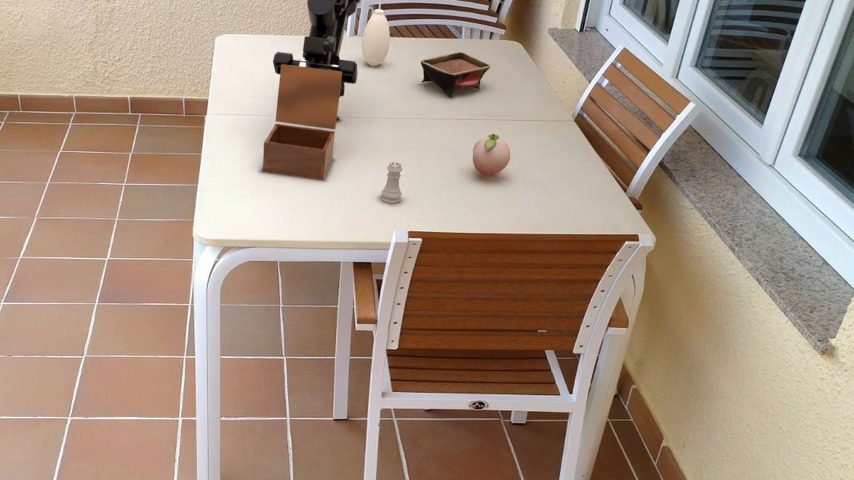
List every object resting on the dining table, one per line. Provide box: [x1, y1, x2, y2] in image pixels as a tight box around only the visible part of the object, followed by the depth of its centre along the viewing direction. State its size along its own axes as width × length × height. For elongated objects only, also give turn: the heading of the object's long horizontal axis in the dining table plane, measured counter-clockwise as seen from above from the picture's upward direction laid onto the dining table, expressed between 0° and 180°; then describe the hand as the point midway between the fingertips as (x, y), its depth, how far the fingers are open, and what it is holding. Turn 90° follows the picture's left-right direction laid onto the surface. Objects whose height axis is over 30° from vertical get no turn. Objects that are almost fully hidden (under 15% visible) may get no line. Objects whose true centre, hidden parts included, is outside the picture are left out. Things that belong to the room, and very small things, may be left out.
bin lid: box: [275, 64, 342, 130], centre depth 214 cm, size 12×14×1 cm
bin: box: [262, 123, 336, 181], centre depth 214 cm, size 12×14×7 cm
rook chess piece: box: [380, 161, 403, 205], centre depth 202 cm, size 4×4×8 cm
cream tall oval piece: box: [361, 0, 391, 67], centre depth 272 cm, size 8×8×18 cm
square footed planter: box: [420, 51, 492, 98], centre depth 263 cm, size 14×18×10 cm
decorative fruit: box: [472, 133, 511, 177], centre depth 214 cm, size 9×8×10 cm
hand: (308, 102), depth 216 cm, fingers closed
